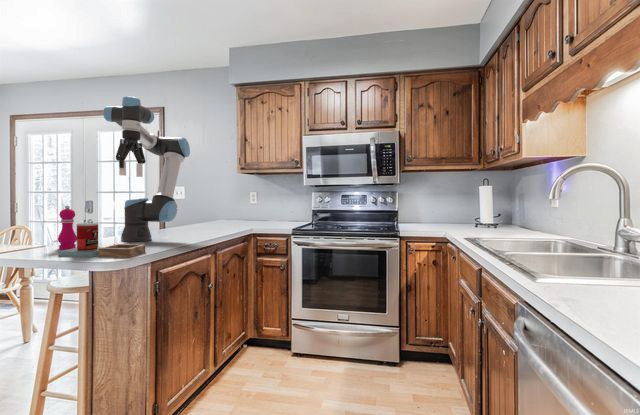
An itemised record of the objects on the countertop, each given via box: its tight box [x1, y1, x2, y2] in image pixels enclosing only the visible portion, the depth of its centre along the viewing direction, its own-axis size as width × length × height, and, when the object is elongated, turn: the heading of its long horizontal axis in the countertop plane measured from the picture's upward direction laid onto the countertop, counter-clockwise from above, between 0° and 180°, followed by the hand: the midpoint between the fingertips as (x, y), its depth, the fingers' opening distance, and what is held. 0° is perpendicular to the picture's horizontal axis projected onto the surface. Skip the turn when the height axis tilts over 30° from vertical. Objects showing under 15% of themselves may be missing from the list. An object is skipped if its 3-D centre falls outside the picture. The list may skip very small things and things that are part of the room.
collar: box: [98, 243, 146, 258], centre depth 151 cm, size 13×13×4 cm
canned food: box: [76, 222, 99, 250], centre depth 151 cm, size 8×8×11 cm
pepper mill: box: [57, 205, 77, 250], centre depth 163 cm, size 7×7×20 cm
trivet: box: [58, 246, 103, 258], centre depth 151 cm, size 14×14×2 cm
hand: (131, 176), depth 166 cm, fingers open, 13 cm apart
